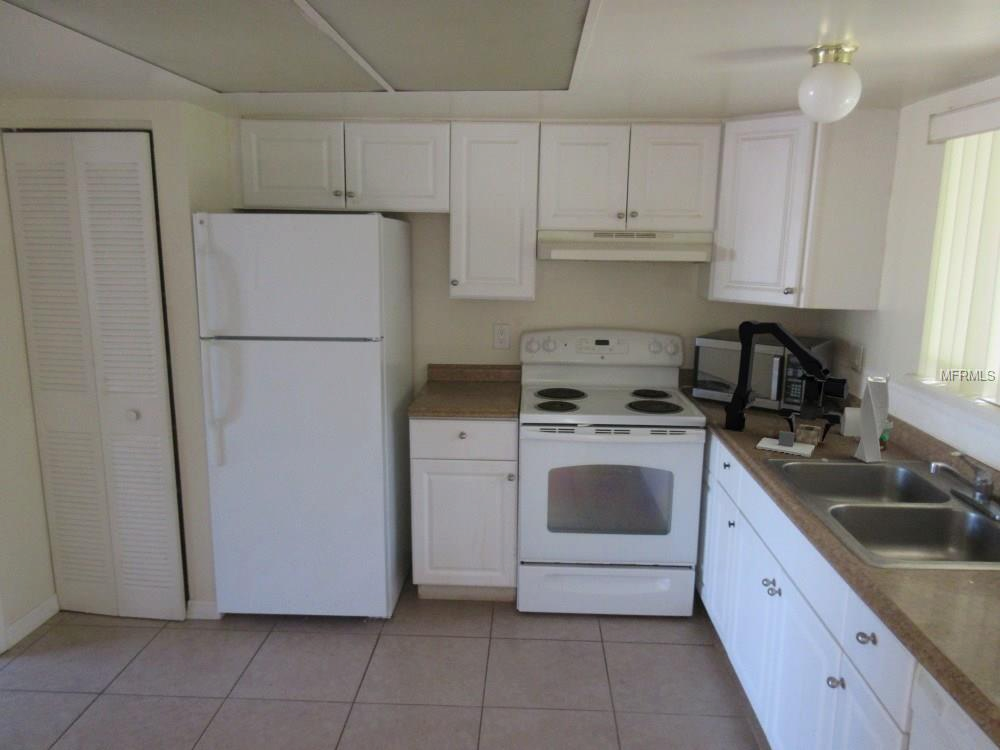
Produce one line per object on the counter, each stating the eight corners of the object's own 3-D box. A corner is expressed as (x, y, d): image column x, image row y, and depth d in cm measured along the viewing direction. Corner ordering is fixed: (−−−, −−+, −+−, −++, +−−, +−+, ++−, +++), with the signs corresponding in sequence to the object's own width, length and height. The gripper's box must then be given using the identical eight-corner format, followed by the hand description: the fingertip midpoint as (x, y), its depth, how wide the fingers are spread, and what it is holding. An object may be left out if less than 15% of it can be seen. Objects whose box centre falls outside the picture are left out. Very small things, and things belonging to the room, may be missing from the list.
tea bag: (864, 437, 233) (867, 409, 231) (843, 436, 234) (846, 408, 233) (860, 434, 237) (863, 407, 235) (840, 433, 238) (843, 406, 236)
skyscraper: (890, 464, 204) (902, 374, 198) (866, 465, 202) (878, 375, 197) (870, 455, 212) (881, 369, 207) (847, 456, 210) (858, 370, 205)
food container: (896, 453, 214) (900, 424, 213) (875, 452, 216) (879, 422, 214) (882, 443, 226) (886, 414, 224) (863, 441, 228) (866, 413, 226)
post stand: (756, 448, 217) (757, 432, 216) (763, 440, 227) (765, 424, 226) (809, 457, 209) (811, 440, 208) (814, 448, 219) (816, 432, 218)
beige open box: (795, 443, 223) (796, 429, 222) (799, 438, 230) (800, 424, 229) (815, 447, 220) (817, 432, 219) (819, 441, 227) (820, 427, 226)
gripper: (778, 394, 220) (774, 440, 223) (841, 402, 211) (835, 449, 213) (784, 389, 230) (780, 432, 232) (844, 396, 220) (839, 441, 223)
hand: (807, 439), depth 225 cm, fingers open, 9 cm apart
